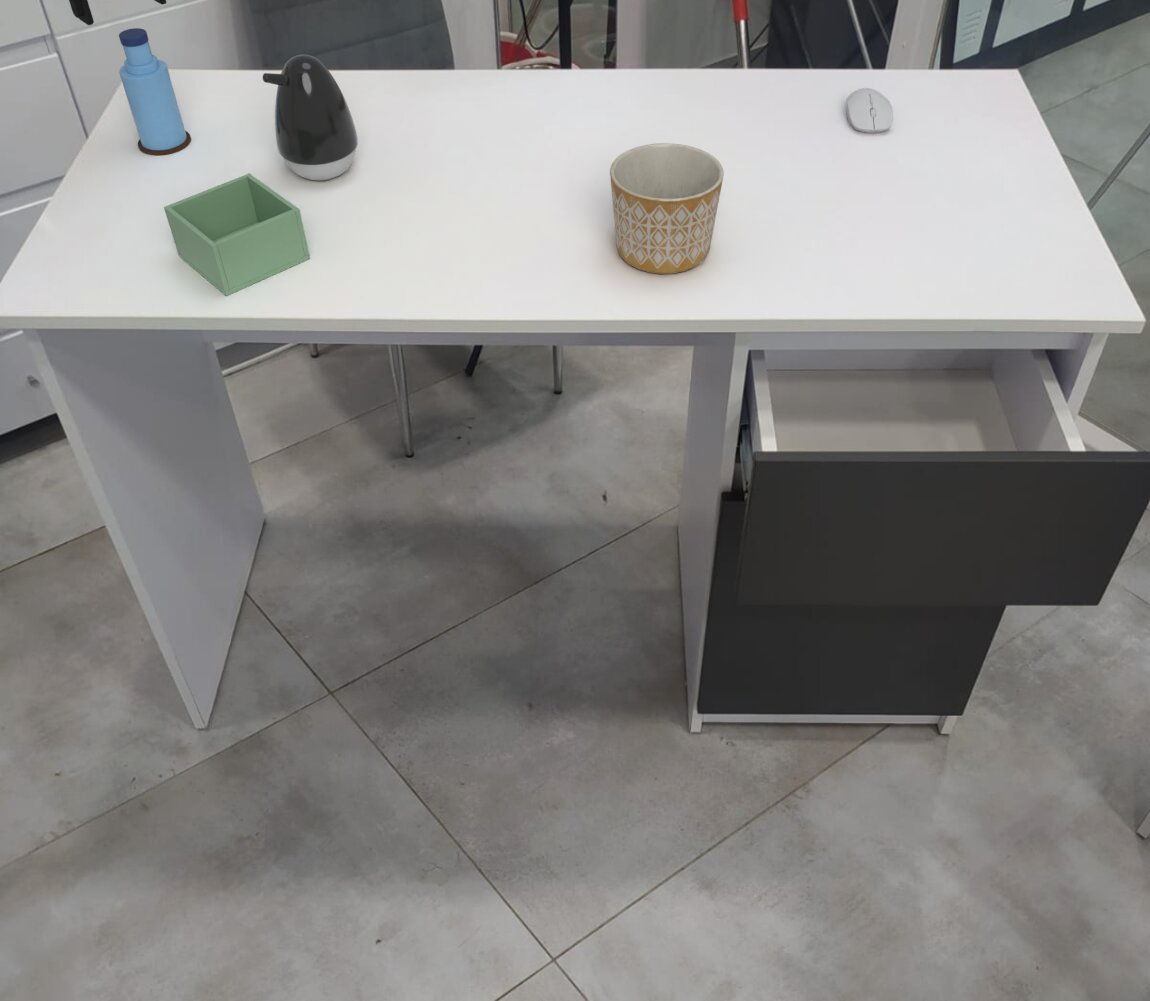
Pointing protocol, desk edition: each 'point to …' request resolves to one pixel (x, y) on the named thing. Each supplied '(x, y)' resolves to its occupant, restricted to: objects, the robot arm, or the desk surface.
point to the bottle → (150, 94)
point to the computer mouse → (869, 111)
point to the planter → (665, 206)
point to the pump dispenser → (312, 120)
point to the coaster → (168, 151)
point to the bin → (238, 233)
